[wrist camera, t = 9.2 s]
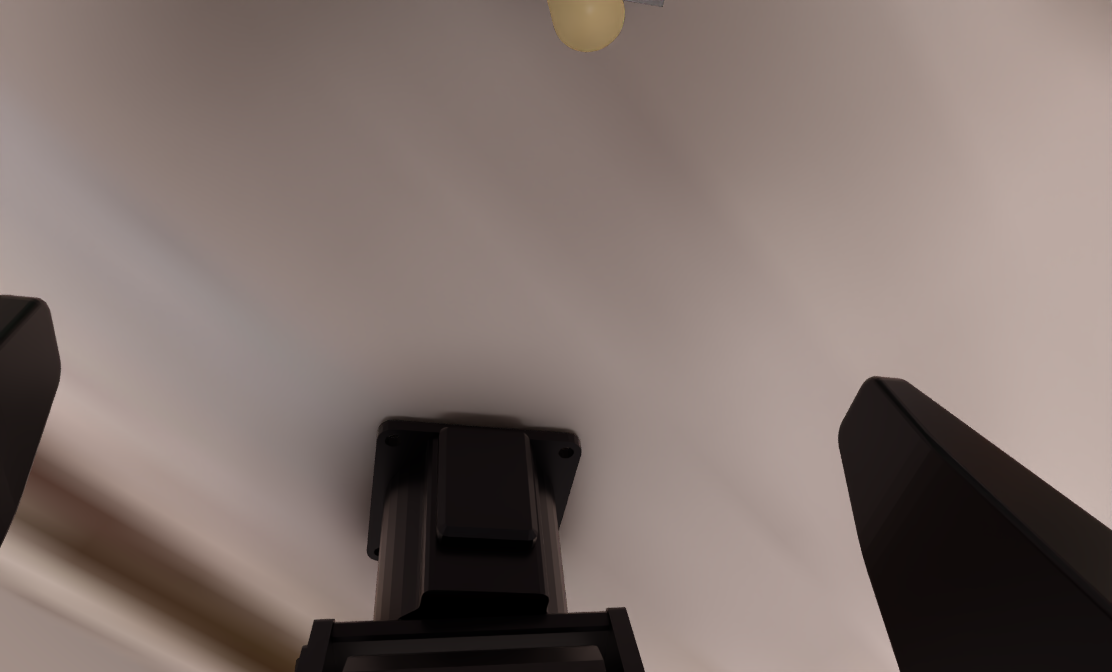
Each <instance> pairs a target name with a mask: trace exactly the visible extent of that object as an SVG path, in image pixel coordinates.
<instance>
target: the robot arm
mask: <svg viewBox="0 0 1112 672" xmlns="http://www.w3.org/2000/svg"><path fill="white" fill-rule="evenodd" d="M60 375H61V361H60V356H59V351H58V346H57V341H56V336H55V331H54V327H53V322H52V317H51V312H50V309H49V307H48V305H47V303H46V302H45V301H43V300H42V299H40V298H35V297H25V296H14V295H0V547H1V545H2V543H3V541H4V539H5V536H6V534H7V532H8V530H9V528H10V525H11V523H12V521H13V518H14V516H15V514H16V512H17V509H18V506H19V503H20V500H21V498H22V495H23V492H24V489H25V486H26V483H27V480H28V477H29V474H30V471H31V468H32V465H33V461H34V458H35V455H36V452H37V449H38V446H39V443H40V440H41V437H42V434H43V431H44V428H45V425H46V422H47V419H48V416H49V413H50V409H51V406H52V403H53V400H54V397H55V394H56V391H57V388H58V385H59V381H60ZM389 435H396V436H399V437H394V438H393V437H389ZM838 443H839V449H840V454H841V459H842V464H843V468H844V473H845V478H846V483H847V487H848V492H849V497H850V502H851V506H852V511H853V516H854V521H855V525H856V530H857V535H858V539H859V543H860V547H861V551H862V555H863V559H864V562H865V565H866V569H867V572H868V575H869V578H870V581H871V584H872V588H873V591H874V594H875V597H876V600H877V603H878V606H879V609H880V612H881V615H882V618H883V621H884V624H885V627H886V630H887V633H888V636H889V639H890V642H891V645H892V649H893V652H894V655H895V658H896V661H897V664H898V667H899V670H900V672H1112V530H1111V529H1110V528H1108V527H1107V526H1105V525H1104V524H1103V523H1101V522H1100V521H1099V520H1097V519H1096V518H1094V517H1093V516H1092V515H1090V514H1089V513H1088V512H1086V511H1085V510H1083V509H1082V508H1081V507H1079V506H1078V505H1077V504H1075V503H1074V502H1072V501H1071V500H1070V499H1068V498H1067V497H1065V496H1064V495H1063V494H1061V493H1060V492H1059V491H1057V490H1056V489H1054V488H1053V487H1052V486H1050V485H1049V484H1048V483H1046V482H1045V481H1043V480H1042V479H1041V478H1039V477H1038V476H1037V475H1035V474H1034V473H1032V472H1031V471H1030V470H1028V469H1027V468H1026V467H1024V466H1023V465H1021V464H1020V463H1019V462H1017V461H1016V460H1015V459H1013V458H1012V457H1010V456H1009V455H1008V454H1006V453H1005V452H1004V451H1002V450H1001V449H999V448H998V447H997V446H995V445H994V444H993V443H991V442H990V441H988V440H987V439H986V438H984V437H983V436H982V435H980V434H979V433H977V432H976V431H975V430H973V429H972V428H971V427H969V426H968V425H966V424H965V423H964V422H962V421H961V420H960V419H958V418H957V417H955V416H954V415H953V414H951V413H950V412H949V411H947V410H946V409H944V408H943V407H942V406H940V405H939V404H938V403H936V402H935V401H933V400H932V399H931V398H929V397H928V396H927V395H925V394H924V393H922V392H921V391H920V390H918V389H917V388H915V387H914V386H913V385H911V384H910V383H909V382H907V381H905V380H903V379H900V378H890V377H879V376H874V377H870V378H868V379H867V380H866V381H865V382H864V383H863V384H862V386H861V388H860V389H859V391H858V393H857V395H856V397H855V399H854V401H853V402H852V404H851V406H850V408H849V410H848V412H847V413H846V415H845V417H844V419H843V421H842V423H841V425H840V429H839V434H838ZM565 447H569V448H568V449H562V448H565ZM580 457H581V444H580V440H579V438H578V437H577V436H575V435H574V434H570V433H561V432H548V431H534V430H520V429H507V428H493V427H480V426H466V425H453V424H439V423H426V422H412V421H398V420H391V421H387V422H384V423H382V424H381V425H380V426H379V428H378V433H377V443H376V454H375V465H374V476H373V487H372V498H371V510H370V521H369V532H368V543H367V555H368V556H369V557H370V558H372V559H374V560H377V561H378V573H377V584H376V596H375V607H374V619H373V621H352V622H335V619H320V620H314V622H313V626H312V630H311V634H310V638H309V642H308V645H304V646H303V647H302V650H301V654H300V658H298V659H297V660H296V666H295V672H645V670H644V667H643V664H642V660H641V657H640V654H639V650H638V647H637V644H636V640H635V637H634V634H633V630H632V627H631V624H630V620H629V617H628V614H627V611H626V608H625V607H619V608H606V611H599V612H574V613H568V610H567V601H566V592H565V584H564V575H563V566H562V558H561V549H560V540H559V532H558V531H559V527H560V524H561V521H562V517H563V514H564V511H565V507H566V504H567V500H568V497H569V494H570V490H571V487H572V484H573V480H574V477H575V473H576V470H577V467H578V463H579V460H580Z"/></svg>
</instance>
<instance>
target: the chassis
mask: <svg viewBox="0 0 1112 672" xmlns="http://www.w3.org/2000/svg"><path fill="white" fill-rule="evenodd" d="M624 1H630V2H636V3H641V4H647V5H653V6H659V7H663V3H664V0H624ZM547 2H548V6H549V10H550V14H551V17H552V21H553V25H554V29H555V31H556V34H557V35H558V37H559V38H560V40H561V41H562V42H563V43H564V44H565V45H567V46H568V47H570V48H572V49H574V50H576V51H581V52H593V51H597V50H600V49H602V48H604V47H606V46H608V45H609V44H610V43H612V42H613V41H614V40H615V38H616V37H617V36H618V34H619V33H620V31H621V29H622V26H623V23H624V18H625V8H624V3H623V0H547Z"/></svg>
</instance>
